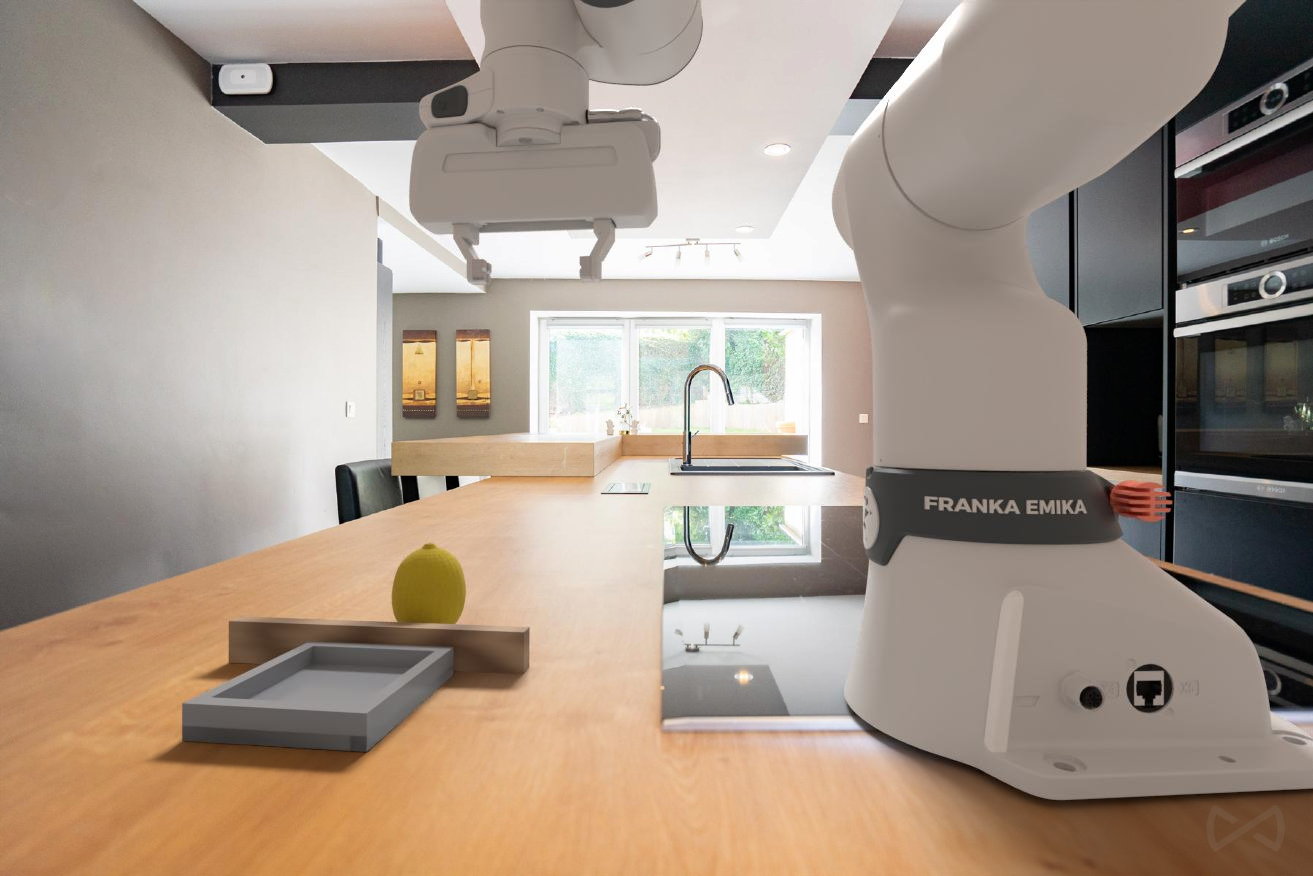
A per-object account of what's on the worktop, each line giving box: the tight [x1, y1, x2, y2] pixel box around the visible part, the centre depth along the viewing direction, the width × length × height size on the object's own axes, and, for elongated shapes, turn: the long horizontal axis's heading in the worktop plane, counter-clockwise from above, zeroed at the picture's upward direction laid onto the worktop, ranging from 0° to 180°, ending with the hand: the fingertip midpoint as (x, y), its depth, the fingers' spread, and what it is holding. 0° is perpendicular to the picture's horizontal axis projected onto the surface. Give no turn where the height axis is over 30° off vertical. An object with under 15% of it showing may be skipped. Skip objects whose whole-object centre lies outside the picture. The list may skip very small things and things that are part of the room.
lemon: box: [391, 542, 467, 624], centre depth 50 cm, size 6×6×8 cm
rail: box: [228, 615, 531, 674], centre depth 45 cm, size 22×1×3 cm, turn 84°
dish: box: [181, 641, 454, 753], centre depth 39 cm, size 10×10×2 cm
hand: (534, 282), depth 52 cm, fingers open, 8 cm apart
